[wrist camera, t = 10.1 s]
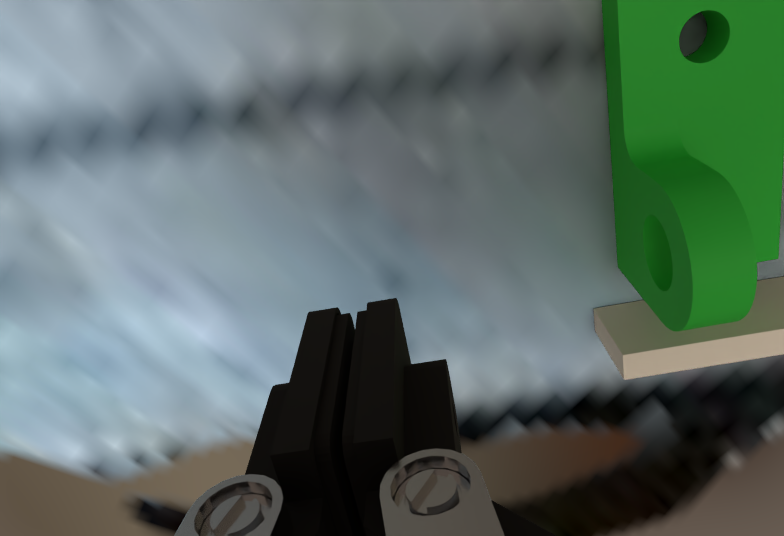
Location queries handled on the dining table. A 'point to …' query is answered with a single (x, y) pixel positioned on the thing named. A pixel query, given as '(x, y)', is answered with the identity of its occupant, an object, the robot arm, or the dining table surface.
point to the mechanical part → (695, 152)
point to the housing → (691, 336)
